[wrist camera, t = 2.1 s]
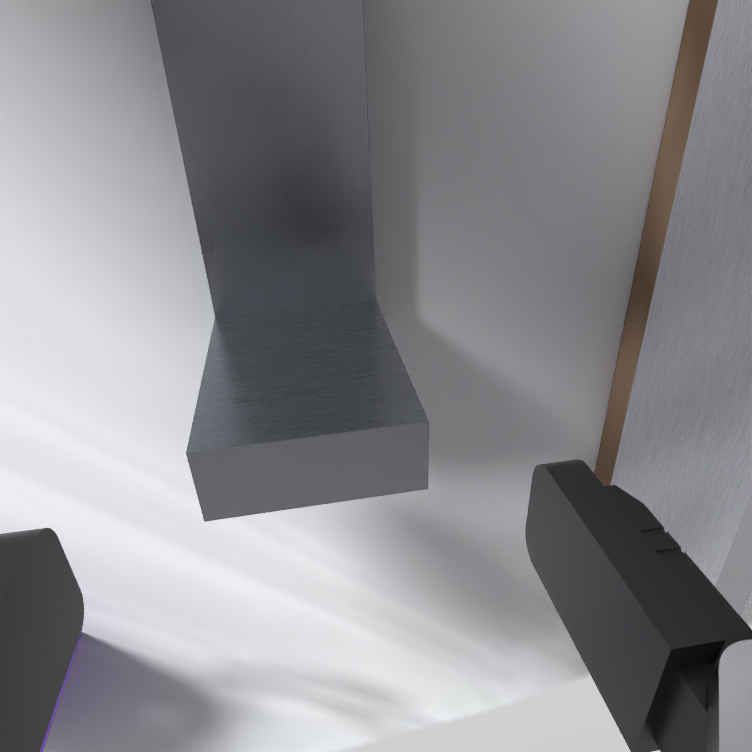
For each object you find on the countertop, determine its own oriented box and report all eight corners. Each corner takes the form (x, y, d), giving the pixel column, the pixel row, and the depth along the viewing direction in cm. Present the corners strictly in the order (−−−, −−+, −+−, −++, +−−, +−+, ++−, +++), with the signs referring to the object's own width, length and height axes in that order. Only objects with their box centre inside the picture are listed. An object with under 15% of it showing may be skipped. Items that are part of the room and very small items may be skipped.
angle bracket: (152, -56, 11) (12, -192, 5) (349, -60, 12) (434, -188, 6) (229, 344, 16) (204, 521, 10) (369, 329, 16) (427, 489, 10)
